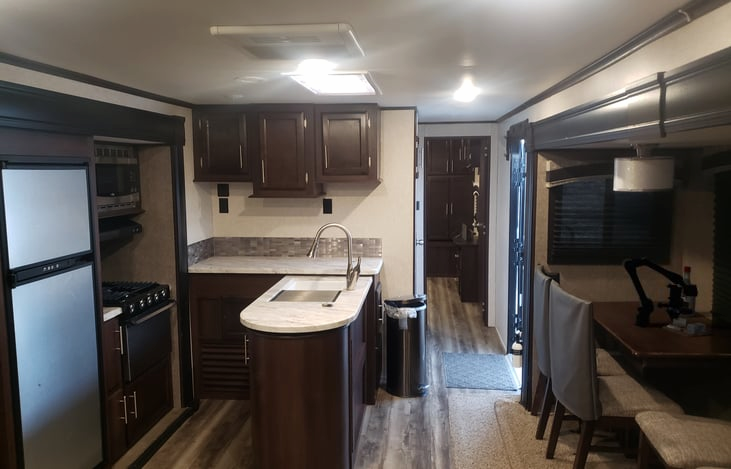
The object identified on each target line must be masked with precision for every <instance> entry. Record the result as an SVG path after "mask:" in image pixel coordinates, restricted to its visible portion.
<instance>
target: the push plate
mask: <svg viewBox="0 0 731 469" xmlns="http://www.w3.org/2000/svg"><path fill="white" fill-rule="evenodd" d="M669 325H673V326H675V327H684V326H686V325H687V319H686V318H683V317H678V318H676V319H673V323H669Z"/></svg>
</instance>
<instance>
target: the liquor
mask: <svg viewBox="0 0 731 469" xmlns="http://www.w3.org/2000/svg"><path fill="white" fill-rule="evenodd" d="M691 272H692V266H687V265H685V266H684V267H683V281H684V283H686V284H689V285H692V284H693V283H692V282H691ZM679 286H680V287H682V286H681V285H679ZM681 298H683V301H685V302H688V303H690V304H689V307H688V308H690V309H692V310H693V314H688V315H684V314H680V315H679V316H678V317H681V318H683V317H684V318H693V317H694V316H696V299H697V297H689V296H684V294H682V293H681ZM681 308H686V307H681ZM676 309H677V308H676Z"/></svg>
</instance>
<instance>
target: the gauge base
mask: <svg viewBox="0 0 731 469" xmlns="http://www.w3.org/2000/svg"><path fill="white" fill-rule="evenodd" d="M706 327H707V326H706V324H703V323H701V322H695V323H694V322H693V323H688V324H686V326H684V327H675V326H673V325H670V324H669V325H664V326H662V330H665V331H668V332H671V333H674V334H677V335H679V336H683V337H687V338H690V337H698V336H707V335H709V331H707V330H706V329H707V328H706Z"/></svg>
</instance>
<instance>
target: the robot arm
mask: <svg viewBox="0 0 731 469" xmlns="http://www.w3.org/2000/svg"><path fill="white" fill-rule="evenodd" d="M621 265H622V267H623V268H624V270H625V272H626V273H627V274H628V276H629V277H630V280H631V283H632V284H633V287H634V289H635V292H636V295H637V296H638V300H639V306H638V307H637V308H636V309H635V311H636V313H637V314H636V315H635V316H636V317H635V318H636V319H635V323H633V325H635V326H637V327H641V328H646V327H647V328H648V327H652V325H651V324H650V319H651V317H650V316H651V314H652V313H653V312H654V311H655V305H654V303H653V300H652V298H651V297H648V296H647V294H646V292H645V290H644V288H643V285H642V283H641V280H640V278H639V275H638V272H637V268H641V267H642V266H646V267H648V268H650V269H651V270H654V271H655V272H656V273H659V274H660V275H662V276H664V277H665V278H666V279H667V280H668V281H670V282H669V283H668V284H666V285H665V287H666V288H668V289H669V295H668V296H667V300H668V302H667V301H662V302H661V301H659V302H658V303H657V304H656V305H657V306H656V308H660V309H663V308H666V309H665V310H664V311H665V312H666V313H667V315H668V316H669V318H670V321H671V324H673V319H676V318H679V317H680V316H679V315H680V314H684V315H688V314H693V310H692V309H690V308H688V307H689V304H690V303H688V302H685V301H683V298H681V293H682V294H684V296H689V297H696V298H697V297H698V295H699V291H698V285H697V284H695V283H694V284H693V283H691V284H692V285H689V284H686V283H684V281H683V280H684V276H682V275H681V274H680V273H677V272H676V271H672V270H669V269H667V268H665V267H663V266H661V265H659V264H658V263H655V262H654V261H652V260H651V259H649V258H648V257H645V256H644V257H639V258H631V259H630V258H625V259H624V260H623V261H622V262H621ZM671 283H672V284H671ZM680 285H681V286H682V287H680ZM681 307H686V308H681ZM676 308H677V309H676Z"/></svg>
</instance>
